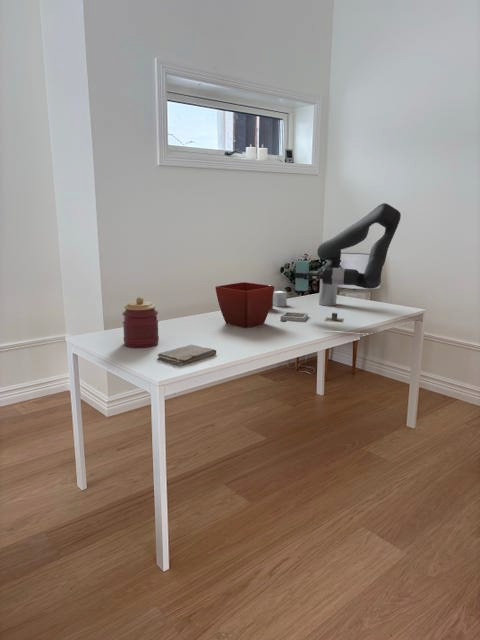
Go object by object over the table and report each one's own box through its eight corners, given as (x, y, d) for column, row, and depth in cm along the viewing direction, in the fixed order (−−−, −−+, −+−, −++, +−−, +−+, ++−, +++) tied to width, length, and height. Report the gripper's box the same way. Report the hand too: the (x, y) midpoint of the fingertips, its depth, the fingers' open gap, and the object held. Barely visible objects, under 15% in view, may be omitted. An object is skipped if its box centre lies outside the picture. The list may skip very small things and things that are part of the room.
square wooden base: (326, 318, 223) (327, 311, 223) (344, 320, 221) (344, 312, 220) (324, 322, 216) (324, 314, 215) (342, 323, 214) (342, 315, 213)
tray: (285, 316, 228) (285, 311, 227) (307, 318, 225) (307, 313, 224) (280, 320, 218) (280, 316, 218) (303, 322, 215) (303, 317, 214)
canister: (127, 350, 170) (125, 301, 167) (120, 341, 182) (118, 295, 178) (162, 346, 175) (161, 299, 172) (154, 337, 187) (153, 293, 183)
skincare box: (286, 306, 253) (287, 292, 252) (276, 306, 251) (277, 293, 249) (280, 304, 259) (281, 290, 257) (271, 304, 256) (271, 291, 254)
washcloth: (154, 361, 159) (154, 352, 159) (192, 349, 173) (192, 341, 172) (180, 368, 152) (180, 359, 152) (217, 356, 166) (217, 347, 165)
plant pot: (214, 323, 212) (214, 286, 208) (243, 317, 226) (243, 281, 222) (246, 330, 199) (246, 291, 196) (274, 323, 213) (275, 286, 209)
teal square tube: (297, 288, 221) (298, 260, 218) (308, 289, 219) (309, 261, 216) (295, 290, 216) (296, 261, 213) (306, 291, 215) (307, 262, 212)
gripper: (336, 266, 218) (299, 264, 223) (332, 269, 204) (293, 268, 210) (335, 282, 219) (299, 280, 224) (331, 287, 206) (292, 284, 211)
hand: (296, 274), depth 217 cm, fingers closed on teal square tube, 5 cm apart
